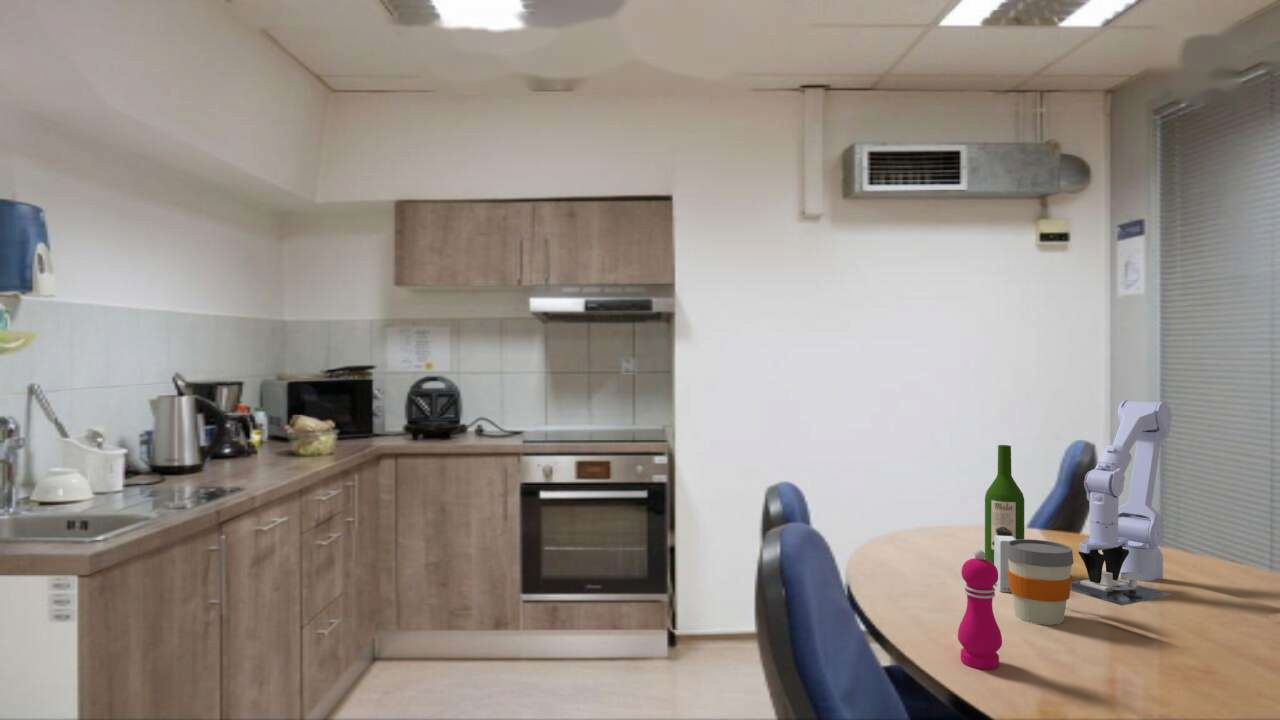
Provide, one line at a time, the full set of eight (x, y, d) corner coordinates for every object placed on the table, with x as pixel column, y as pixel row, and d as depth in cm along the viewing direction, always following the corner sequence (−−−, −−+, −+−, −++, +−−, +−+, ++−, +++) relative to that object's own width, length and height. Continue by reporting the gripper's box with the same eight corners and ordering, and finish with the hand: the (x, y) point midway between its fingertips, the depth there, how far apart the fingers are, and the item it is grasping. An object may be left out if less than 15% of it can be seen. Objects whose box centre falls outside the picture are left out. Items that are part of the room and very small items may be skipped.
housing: (1103, 581, 186) (1103, 573, 186) (1173, 600, 171) (1173, 591, 171) (1053, 590, 178) (1053, 582, 178) (1121, 610, 164) (1121, 601, 164)
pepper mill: (950, 655, 139) (950, 545, 139) (988, 654, 139) (988, 544, 139) (970, 671, 132) (970, 555, 132) (1010, 670, 132) (1010, 554, 132)
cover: (1102, 582, 181) (1102, 566, 181) (1127, 589, 176) (1127, 573, 176) (1080, 586, 178) (1080, 570, 178) (1105, 593, 172) (1105, 577, 172)
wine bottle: (985, 578, 188) (985, 446, 188) (984, 569, 196) (984, 443, 196) (1026, 582, 185) (1026, 448, 185) (1022, 573, 193) (1022, 444, 193)
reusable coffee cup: (1047, 632, 151) (1048, 556, 151) (992, 613, 162) (992, 542, 162) (1087, 622, 157) (1087, 549, 157) (1031, 604, 168) (1031, 536, 168)
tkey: (1111, 593, 171) (1111, 572, 171) (1140, 592, 172) (1140, 571, 172) (1116, 595, 169) (1116, 574, 169) (1145, 594, 170) (1145, 573, 170)
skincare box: (1019, 593, 176) (1019, 541, 176) (1000, 592, 177) (1000, 540, 177) (1012, 585, 182) (1012, 535, 182) (993, 584, 183) (993, 534, 183)
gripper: (1107, 516, 183) (1107, 572, 183) (1066, 521, 177) (1066, 579, 177) (1136, 521, 177) (1136, 580, 177) (1095, 527, 171) (1095, 588, 171)
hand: (1103, 580), depth 177 cm, fingers open, 6 cm apart
